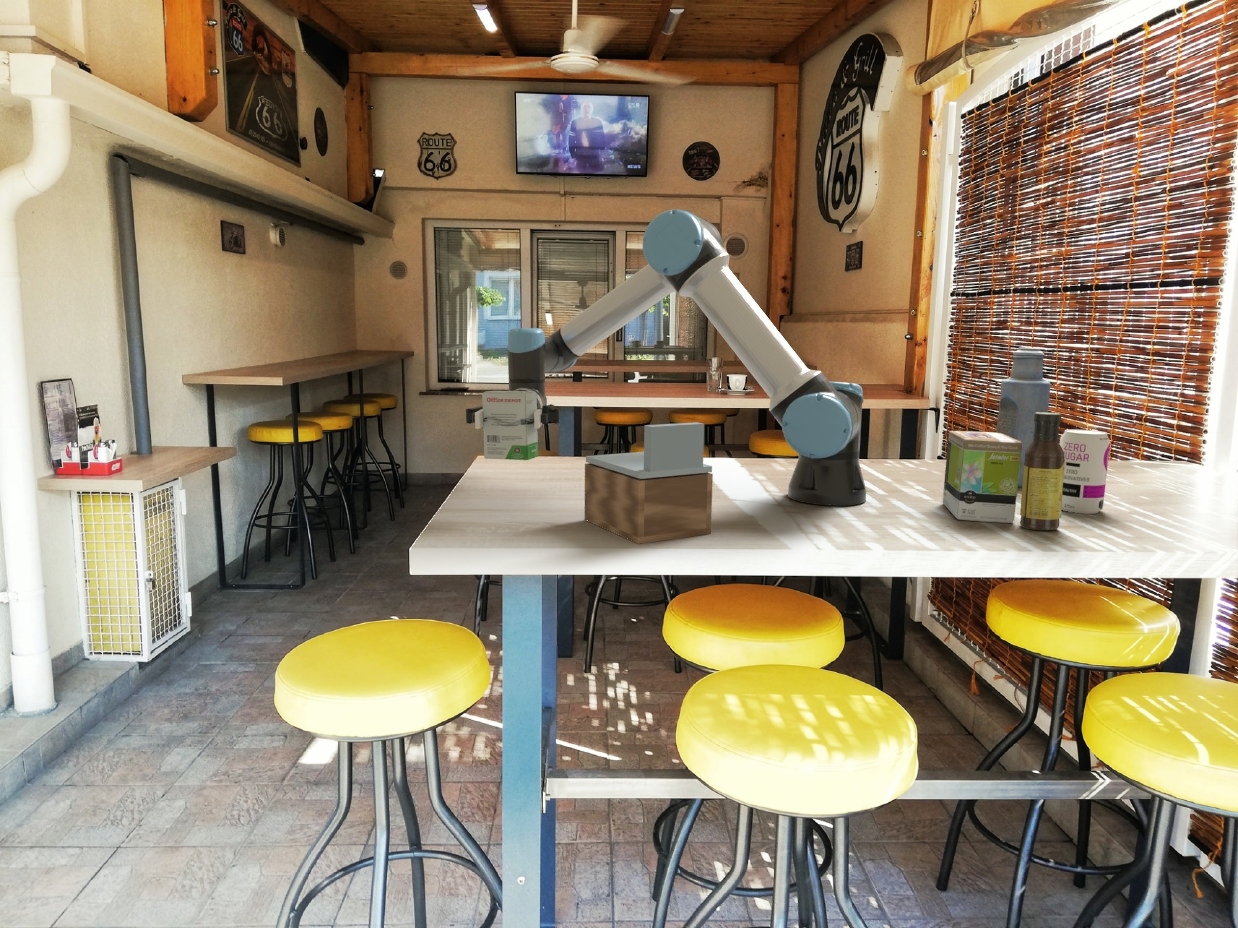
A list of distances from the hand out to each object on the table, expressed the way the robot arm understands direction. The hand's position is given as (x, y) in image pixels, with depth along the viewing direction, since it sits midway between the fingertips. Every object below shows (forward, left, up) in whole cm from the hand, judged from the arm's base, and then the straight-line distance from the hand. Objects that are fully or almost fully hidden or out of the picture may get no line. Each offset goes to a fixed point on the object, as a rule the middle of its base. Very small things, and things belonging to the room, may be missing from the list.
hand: (506, 420), depth 141 cm
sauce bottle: (-92, +1, -18) cm, 94 cm away
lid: (-24, +3, -7) cm, 25 cm away
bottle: (-108, -41, -18) cm, 117 cm away
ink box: (0, -4, -7) cm, 9 cm away
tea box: (-86, -10, -18) cm, 88 cm away
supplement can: (-107, -14, -18) cm, 109 cm away
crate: (-24, +3, -17) cm, 30 cm away
